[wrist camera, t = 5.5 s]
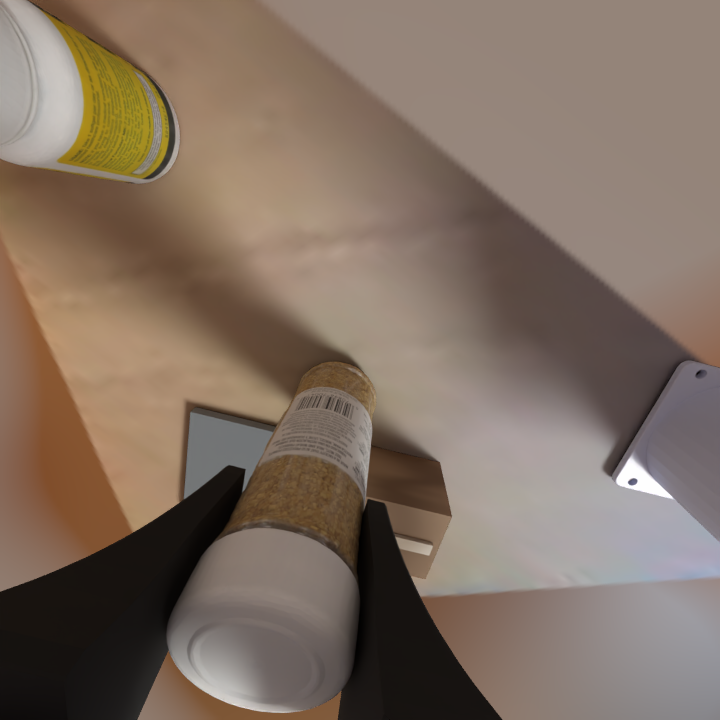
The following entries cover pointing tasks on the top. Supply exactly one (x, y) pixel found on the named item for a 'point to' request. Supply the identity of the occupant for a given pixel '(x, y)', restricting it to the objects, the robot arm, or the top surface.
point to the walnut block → (411, 504)
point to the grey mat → (222, 446)
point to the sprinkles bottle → (286, 560)
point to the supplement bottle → (78, 103)
